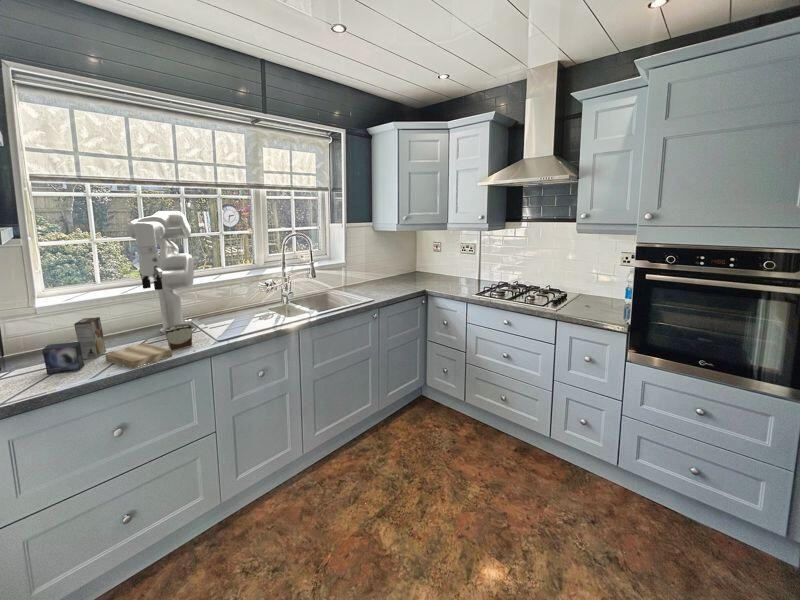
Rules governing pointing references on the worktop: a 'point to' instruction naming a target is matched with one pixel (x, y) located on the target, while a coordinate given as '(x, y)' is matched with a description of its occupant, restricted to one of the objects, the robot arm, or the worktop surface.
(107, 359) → the oak base
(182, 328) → the food container
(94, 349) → the coffee box
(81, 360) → the small box
